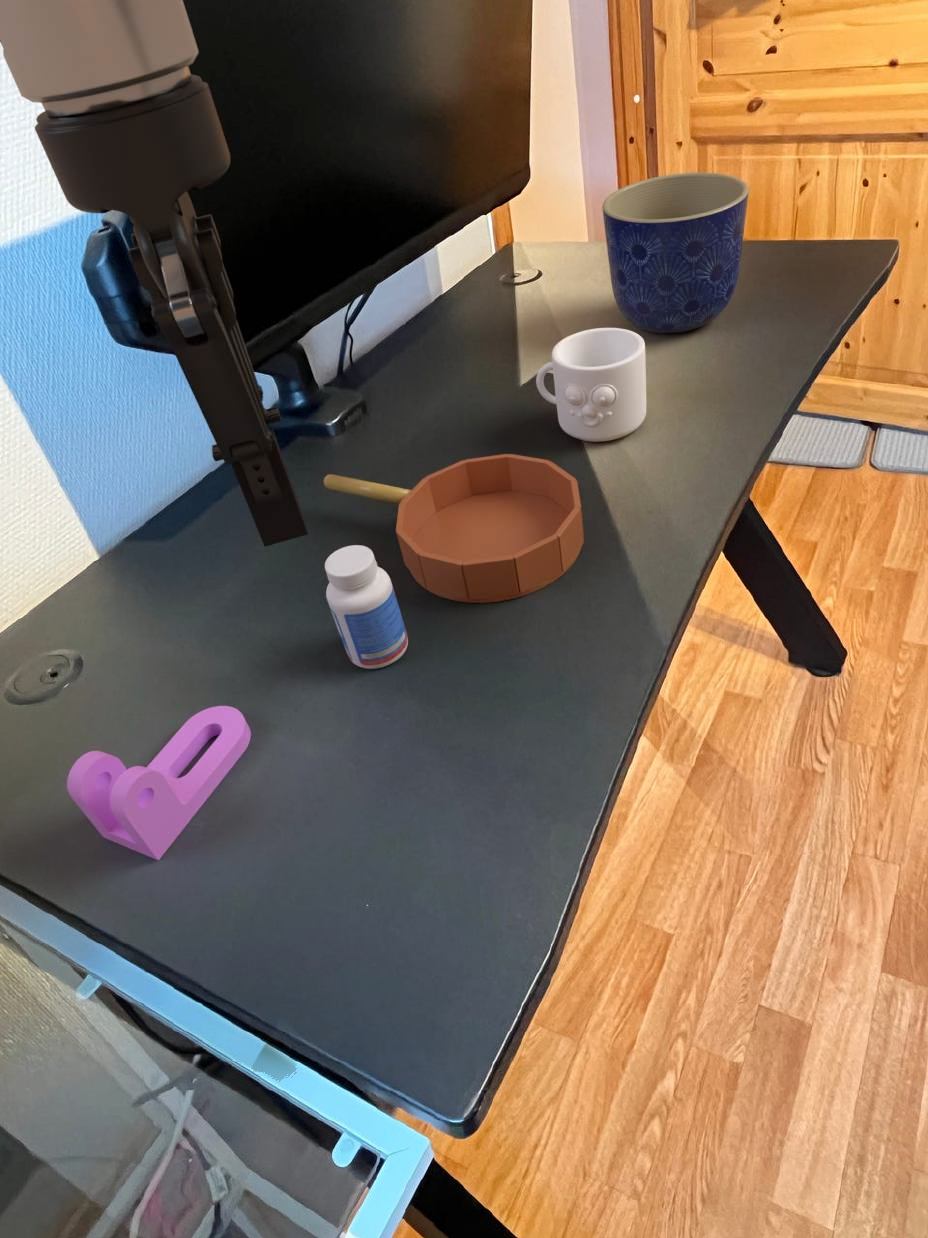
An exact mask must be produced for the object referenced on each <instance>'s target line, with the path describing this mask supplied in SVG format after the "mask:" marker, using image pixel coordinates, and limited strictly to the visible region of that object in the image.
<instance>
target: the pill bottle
mask: <svg viewBox="0 0 928 1238" xmlns="http://www.w3.org/2000/svg"><path fill="white" fill-rule="evenodd" d="M324 569H325V573H326V576H327V580H328V582H329V583H328V584H327V587H326V592H325V597H326V601H327V603H328V606H329V609H330V612H331V614H332V618H333V620H334V623H335V626H336V628H337V631H338V633H339V636H340V639H341V641H342V644H343V647H344V649H345V652H346V654H347V657H348V658H349V660H350V661H351V663H352V664H353V665H356V667H359V668H363V669H367V670H376V669H381V668H385V667H387V666H389V665H392V664H394V663H395V662H396V661H398V660H399V659H400V658H401V657H402V656H403V655H404V654H405V652H406V650H407V648H408V646H409V645H408V644H409V637H408V632H407V629H406V626H405V622H404V620H403V616H402V612H401V609H400V606H399V602H398V599H397V596H396V591H395V589H394V586H393V583H392V580H391V578H390V576H389V574H388V573H387V571H386V570H384V569H383V568H381V567H379V566H378V562H377V561H376V558H375V555H374V552H373V550H372V549H371V548H369V547H367V546H365V545H359V544H354V545H347V546H343V547H340V548H339V549H337V550H335V551H333V553H331V554H330V555H329V556H328V557H327V558H326V560H325V562H324Z"/></svg>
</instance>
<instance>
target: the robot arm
mask: <svg viewBox="0 0 928 1238" xmlns="http://www.w3.org/2000/svg"><path fill="white" fill-rule="evenodd" d="M0 44H1V46H2V49H3V50H2V56H3V58H4V60H5V62H6V65H7V67H8V69H9V72H10V74H11V76H12V78H13V80H14V83H15V85H16V87H17V89H18V91H19V93H20V96H21V97H22V98H25V100H28V101H30V102H31V103H39V104H40V103H41V105H42V107H43V109H44V111H43V112H41V113H40V114H39V115H37V117H36V119H35V120H36V123H37V124H35V126H34V131H35V132H36V135H37V137H38V139H39V142H40V144H41V146H42V148H43V151H44V152H45V155H46V157H47V159H48V161H49V164H50V166H51V168H52V171H53V173H54V175H55V177H56V179H57V183H58V184H59V186H60V189H61V190H62V193H63V195H64V198H65V199H66V200H67V203H69V205H70V206H71V207H73V208H75V209H76V210H78V211H80V212H84V213H87V214H88V213H90V214H106V213H109V212H111V211H115V212H120V213H123V214H125V215H127V216H128V217H129V221H130V222H131V225H132V230H133V233H131V234H130V238H131V243H132V246H133V248H129V249H127V254H128V257H129V260H130V263H131V267H132V268H133V270H134V273H135V275H136V277H137V281H138V282H139V284H140V285H141V287H142V288H143V289H144V290H146V291H147V292H148V293H149V294H150V298H151V299H152V301H151V303H150V309H151V311H150V312H151V316H152V319H153V321H154V322H155V323H156V324H157V325H158V328H159V329H160V330H161V332H162V334H163V336H164V337H165V339H166V341H167V342H168V344H169V346H170V348H171V349H172V351H173V353H174V356H175V358H176V360H177V362H178V364H179V366H180V369H181V371H182V372H183V375H184V377H185V380H186V381H187V383H188V386H189V389H190V390H191V392H192V394H193V396H194V398H195V400H196V403H197V405H198V407H199V409H200V411H201V414H202V416H203V418H204V421H205V423H206V424H207V427H208V429H209V431H210V433H211V435H212V437H213V439H214V443H215V444H212V445H211V454H212V459H213V461H214V462H220V461H222V460H223V462H224V463H225V464H228V463H230V465H231V468H232V471H233V472H234V475H235V478H236V480H237V482H238V485H239V488H240V489H241V492H242V495H243V497H244V500H245V502H246V504H247V507H248V509H249V512H250V514H251V516H252V519H253V522H254V524H255V526H256V529H257V531H258V534H259V537H260V539H261V541H262V544H263V547H265V548H266V547H269V546H272V545H273V546H274V545H276V544H280V543H284V542H286V541H290V540H294V539H297V538H300V537H304V536H307V535H309V532H308V527H307V526H308V525H307V521H306V518H305V516H304V512H303V510H302V507H301V504H300V501H299V500H298V496H297V493H296V490H295V487H294V484H293V482H292V479H291V477H290V473H289V471H288V470H289V469H288V468H287V465H286V462H285V460H284V459H285V458H284V456H283V454H282V451H281V448H280V445H279V443H278V440H277V437H276V434H275V431H274V428H268V426H269V425H273V424H277V423H281V422H282V421H283V420H282V417H281V416H282V415H281V413H280V410H279V406H277V405H276V406H272V407H269V408H265V407H264V403H263V401H264V390H263V388H262V386H261V385H260V384H259V382H258V380H257V376H256V373H255V370H254V367H253V365H252V361H251V359H250V356H249V352H248V350H247V346H246V344H245V340H244V337H243V334H242V332H241V328H240V326H239V322H238V320H237V313H236V307H235V305H234V304H235V299H234V291H233V288H232V284H231V282H230V279H229V277H228V273H227V270H226V267H225V264H224V262H223V254H222V244H221V237H220V235H219V232H218V230H217V226H216V223H215V221H214V218H213V215H212V214H211V213H210V214H206V215H201V216H198V217H197V214H196V210H195V208H194V205H193V202H192V199H191V197H190V195H189V192H191V191H199V190H202V189H204V188H205V187H208V186H209V185H211V184H213V183H215V182H216V181H218V180H219V179H220V178H222V176H224V175H225V173H226V172H227V171H228V170H229V168H230V165H231V152H230V151H229V150H230V149H229V147H228V143H227V140H226V137H225V135H224V131H223V128H222V127H223V126H222V124H221V121H220V117H219V115H218V111H217V109H216V106H215V102H214V99H213V96H212V93H211V89H210V87H209V84H208V83H207V82H205V81H203V80H202V78H201V76H199V75H196V74H192V73H191V70H190V65H192V64H194V62H195V60H196V59H197V57H198V55H199V53H200V50H199V48H198V45H197V42H196V38H195V35H194V32H193V28H192V25H191V23H190V19H189V16H188V13H187V10H186V6H185V3H184V0H0Z"/></svg>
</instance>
